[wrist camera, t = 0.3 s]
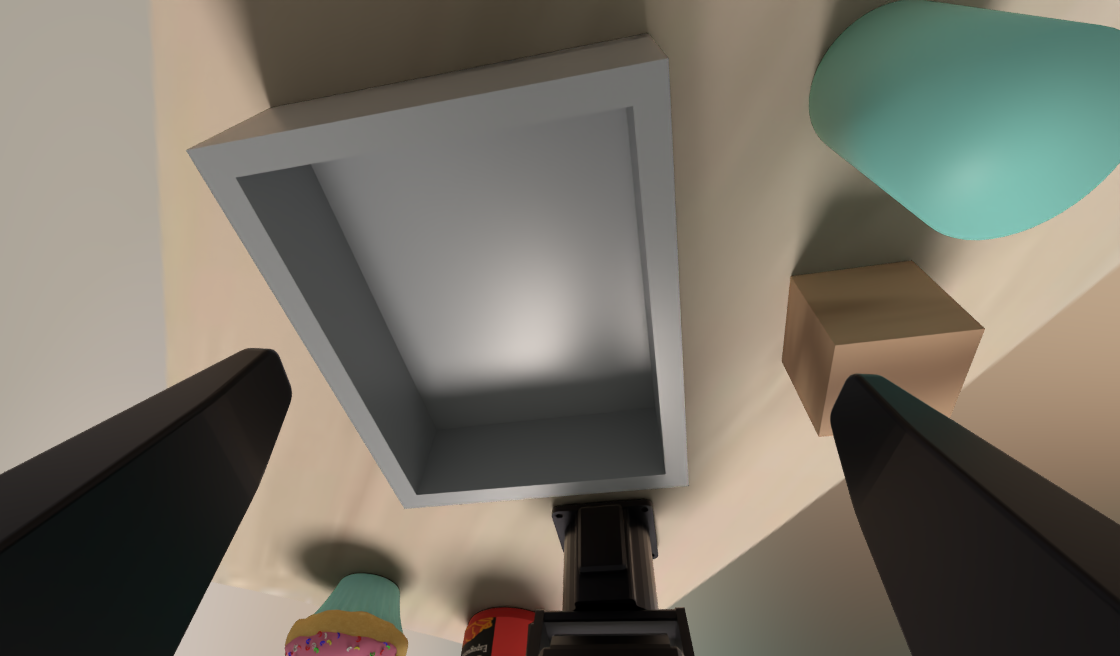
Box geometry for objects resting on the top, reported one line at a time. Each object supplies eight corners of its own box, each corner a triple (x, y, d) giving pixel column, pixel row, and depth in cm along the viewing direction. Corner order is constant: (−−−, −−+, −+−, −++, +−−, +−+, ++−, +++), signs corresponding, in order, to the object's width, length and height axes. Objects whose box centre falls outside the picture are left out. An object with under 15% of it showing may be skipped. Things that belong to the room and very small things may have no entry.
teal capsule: (942, 143, 19) (1096, 225, 13) (802, 165, 20) (891, 252, 14) (984, -16, 16) (1203, 2, 10) (817, 16, 17) (937, 49, 11)
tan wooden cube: (887, 348, 25) (946, 425, 21) (781, 360, 25) (818, 436, 21) (911, 259, 22) (985, 328, 18) (790, 275, 22) (835, 345, 18)
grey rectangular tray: (673, 408, 28) (688, 486, 24) (428, 432, 29) (404, 508, 25) (648, 32, 17) (668, 58, 13) (269, 107, 19) (186, 150, 15)
